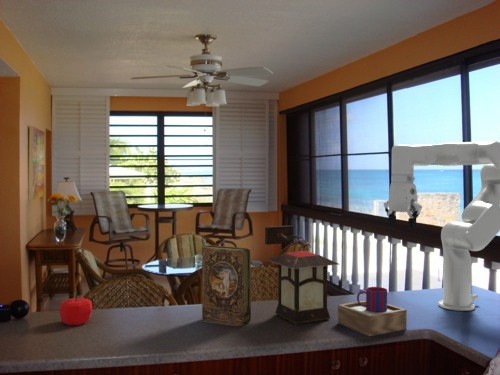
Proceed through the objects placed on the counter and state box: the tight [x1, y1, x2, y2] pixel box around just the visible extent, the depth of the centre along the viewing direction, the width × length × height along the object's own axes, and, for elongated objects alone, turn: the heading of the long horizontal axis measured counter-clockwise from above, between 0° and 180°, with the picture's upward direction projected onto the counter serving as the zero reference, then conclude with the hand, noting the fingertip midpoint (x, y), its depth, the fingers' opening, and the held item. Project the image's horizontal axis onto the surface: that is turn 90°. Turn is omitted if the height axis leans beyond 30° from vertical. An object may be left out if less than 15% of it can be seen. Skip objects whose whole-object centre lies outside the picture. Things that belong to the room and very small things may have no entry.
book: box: [201, 245, 252, 327], centre depth 173 cm, size 16×6×25 cm, turn 65°
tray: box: [337, 300, 408, 337], centre depth 168 cm, size 15×15×6 cm
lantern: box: [264, 225, 340, 325], centre depth 181 cm, size 18×26×30 cm
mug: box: [356, 286, 388, 312], centre depth 169 cm, size 7×10×7 cm
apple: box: [59, 292, 93, 326], centre depth 172 cm, size 11×11×10 cm
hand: (401, 228), depth 183 cm, fingers open, 9 cm apart
